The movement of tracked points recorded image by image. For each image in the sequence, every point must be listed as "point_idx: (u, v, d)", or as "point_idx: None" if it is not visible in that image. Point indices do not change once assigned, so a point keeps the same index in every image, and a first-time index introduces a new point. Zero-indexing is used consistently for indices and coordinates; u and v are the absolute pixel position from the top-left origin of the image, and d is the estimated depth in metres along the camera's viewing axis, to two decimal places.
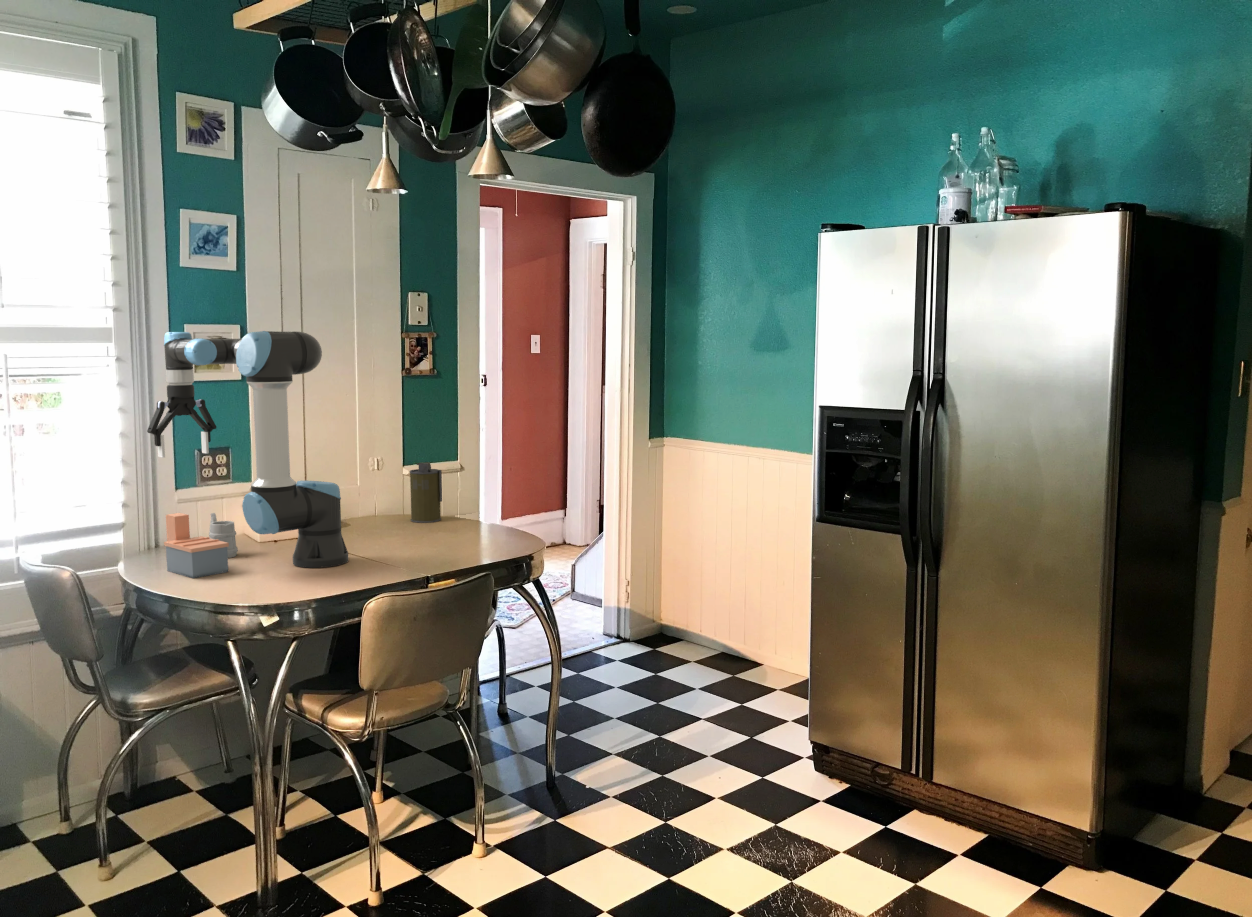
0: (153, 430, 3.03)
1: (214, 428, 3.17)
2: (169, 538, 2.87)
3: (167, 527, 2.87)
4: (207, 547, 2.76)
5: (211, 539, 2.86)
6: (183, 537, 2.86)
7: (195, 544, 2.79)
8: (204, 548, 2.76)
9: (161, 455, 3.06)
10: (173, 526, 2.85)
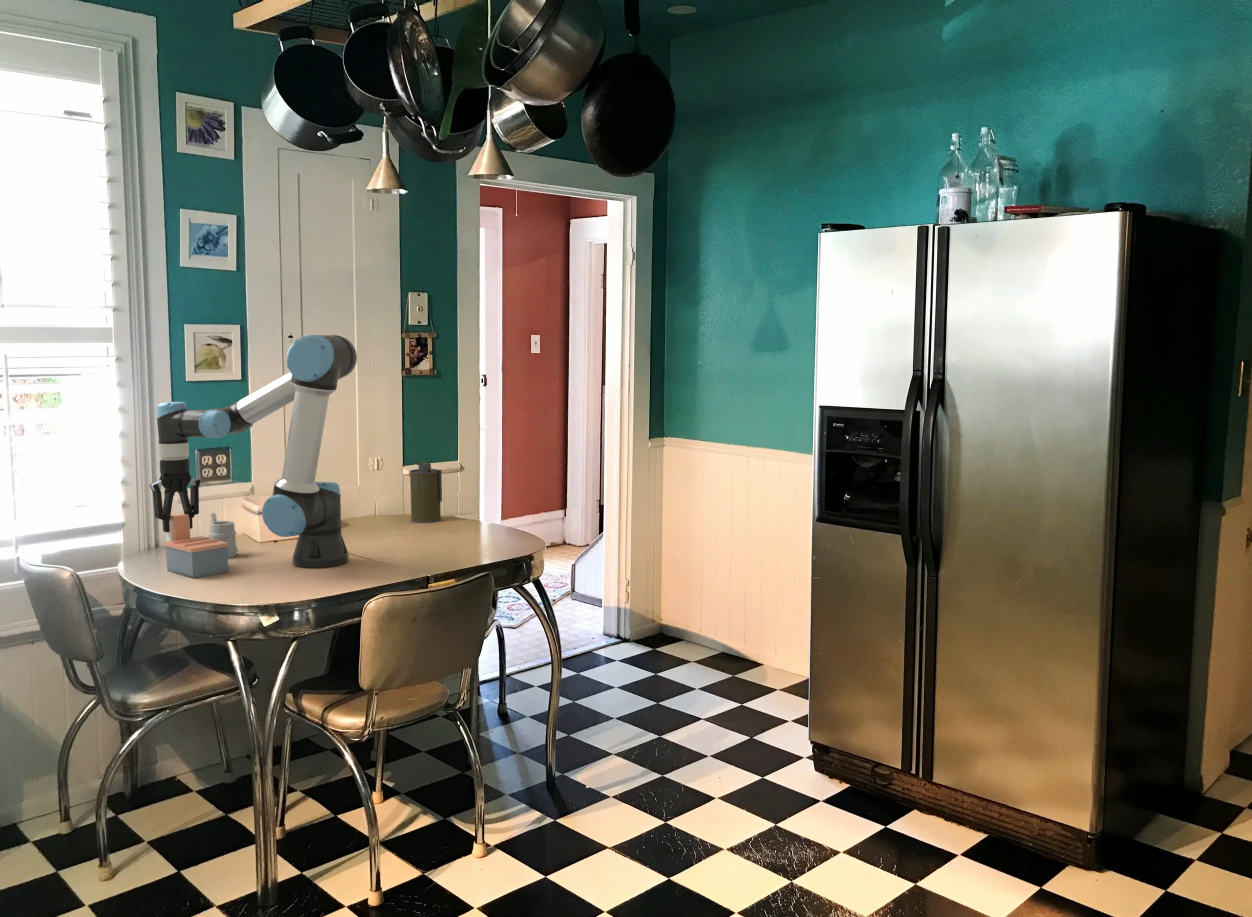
0: (161, 516, 2.82)
1: (196, 513, 2.90)
2: None
3: None
4: (207, 547, 2.76)
5: (211, 539, 2.86)
6: (183, 537, 2.86)
7: (195, 544, 2.79)
8: (204, 548, 2.76)
9: None
10: (173, 526, 2.85)
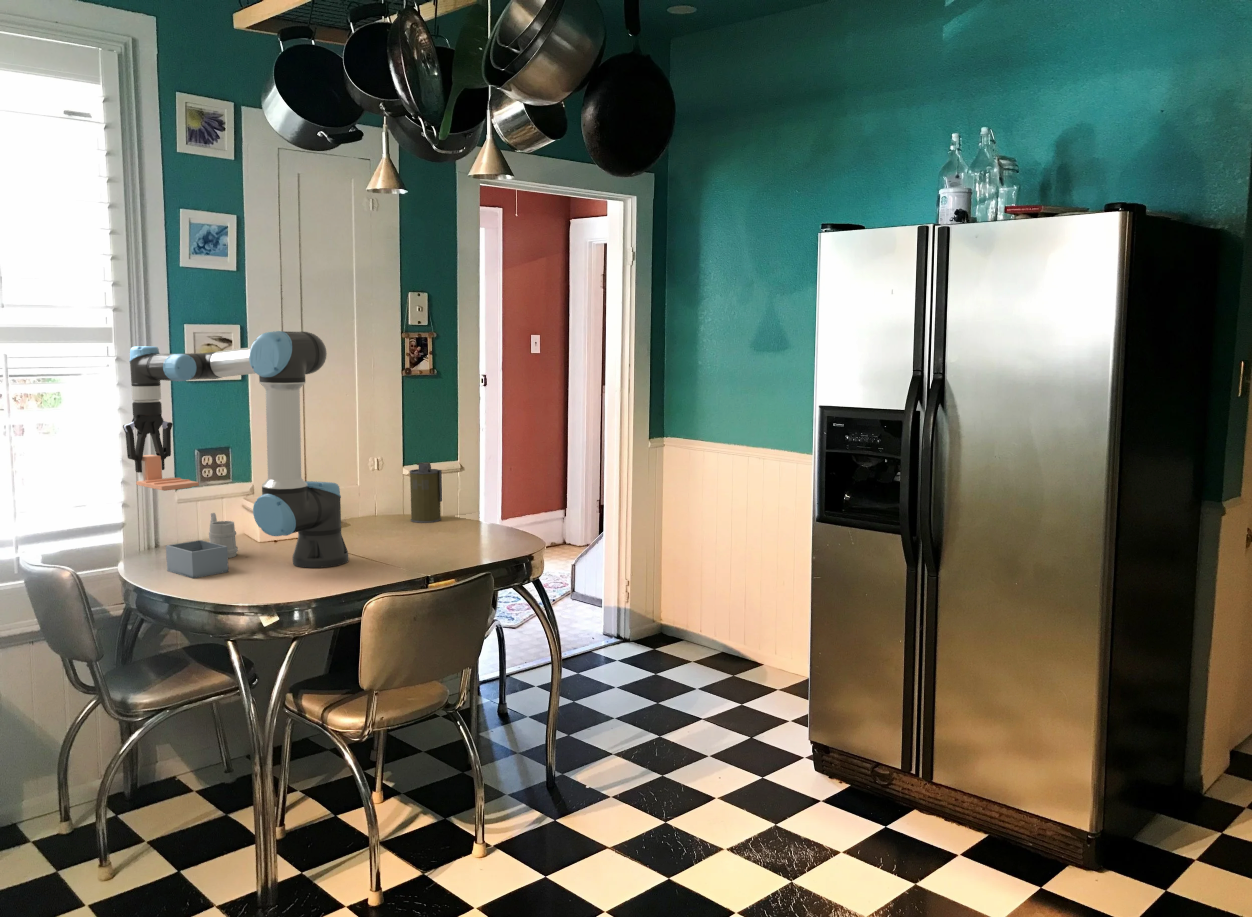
0: (133, 456, 2.92)
1: (168, 455, 2.99)
2: None
3: None
4: (177, 485, 2.86)
5: (182, 479, 2.95)
6: (155, 477, 2.96)
7: (166, 483, 2.88)
8: (175, 486, 2.85)
9: None
10: (145, 466, 2.94)
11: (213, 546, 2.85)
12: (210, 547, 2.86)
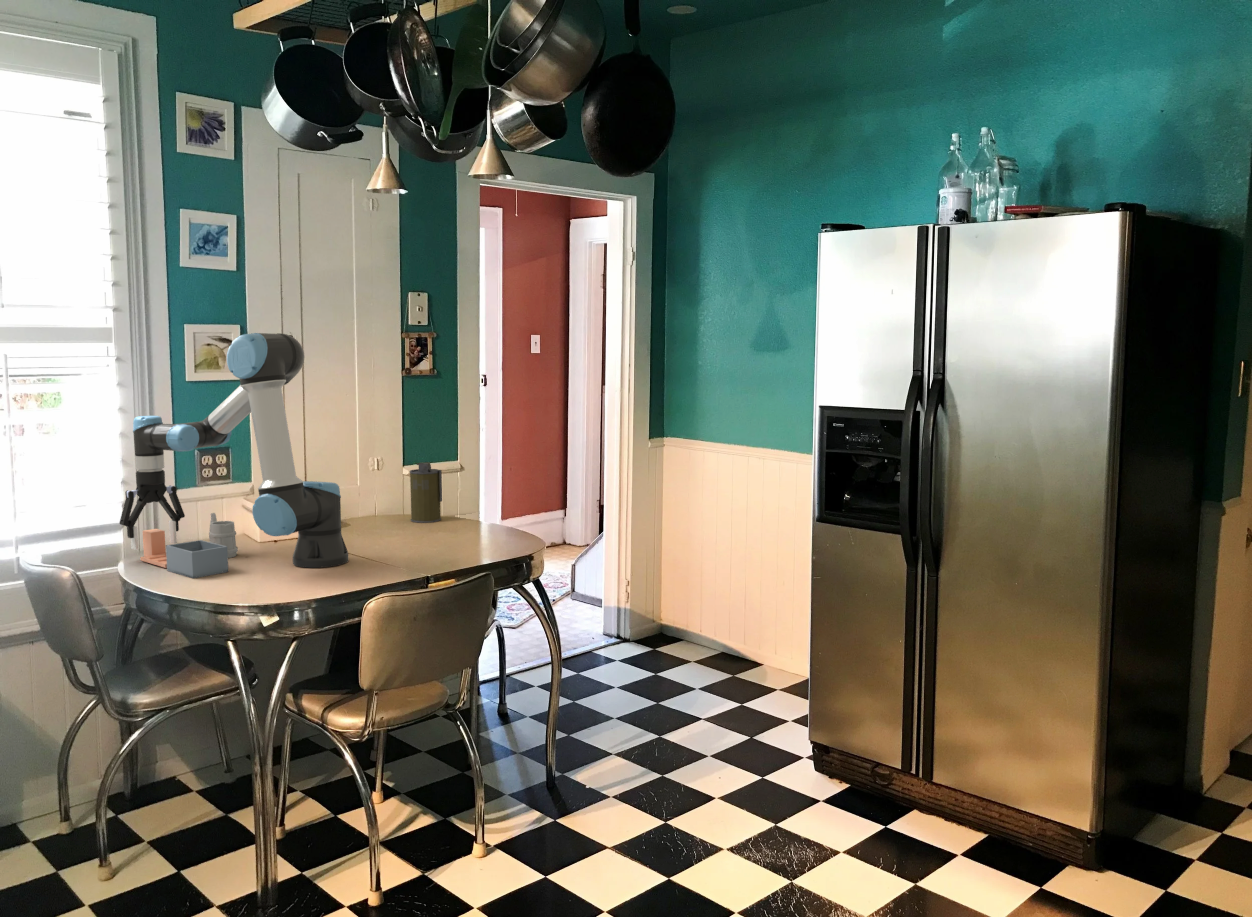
0: (125, 522, 2.92)
1: (182, 517, 3.04)
2: (145, 553, 2.99)
3: (144, 542, 2.99)
4: None
5: None
6: (159, 552, 2.99)
7: None
8: None
9: (134, 547, 2.95)
10: (149, 541, 2.97)
11: (213, 546, 2.85)
12: (210, 547, 2.86)
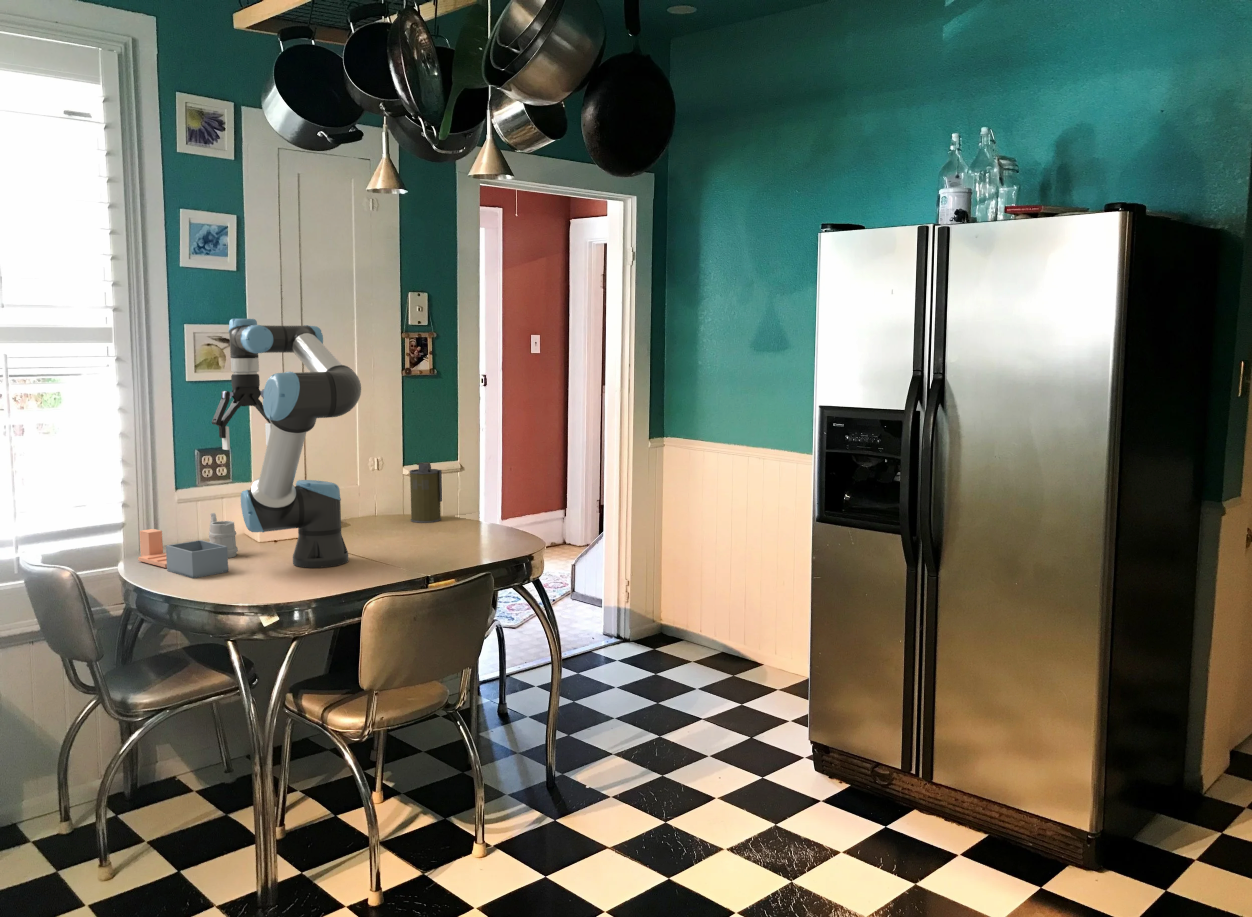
0: (218, 421, 2.89)
1: None
2: (142, 553, 2.99)
3: (141, 542, 2.99)
4: None
5: None
6: (157, 552, 2.98)
7: None
8: None
9: (226, 447, 2.92)
10: (147, 542, 2.97)
11: (213, 546, 2.85)
12: (210, 547, 2.86)
